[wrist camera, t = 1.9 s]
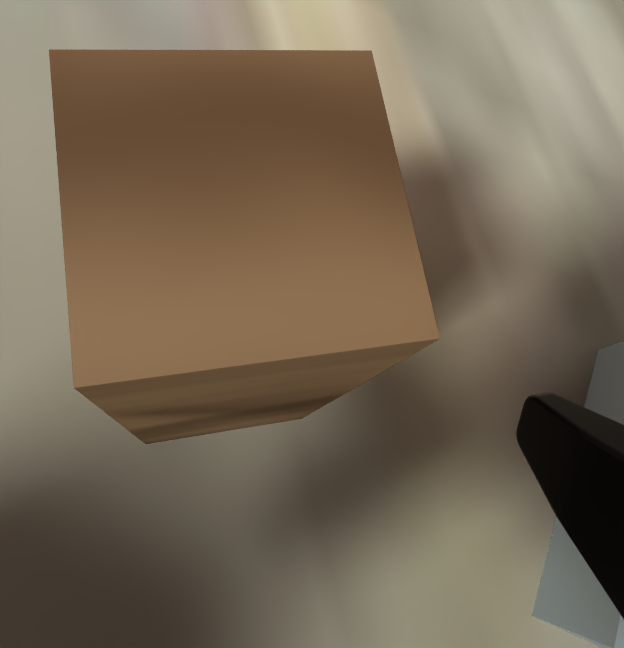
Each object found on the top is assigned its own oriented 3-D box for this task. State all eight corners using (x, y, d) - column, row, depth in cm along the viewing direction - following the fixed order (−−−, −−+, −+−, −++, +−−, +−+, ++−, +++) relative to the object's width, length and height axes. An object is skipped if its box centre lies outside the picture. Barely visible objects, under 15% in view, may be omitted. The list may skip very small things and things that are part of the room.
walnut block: (301, 418, 20) (439, 338, 9) (145, 443, 19) (73, 388, 8) (277, 277, 21) (371, 50, 10) (130, 292, 20) (49, 49, 9)
